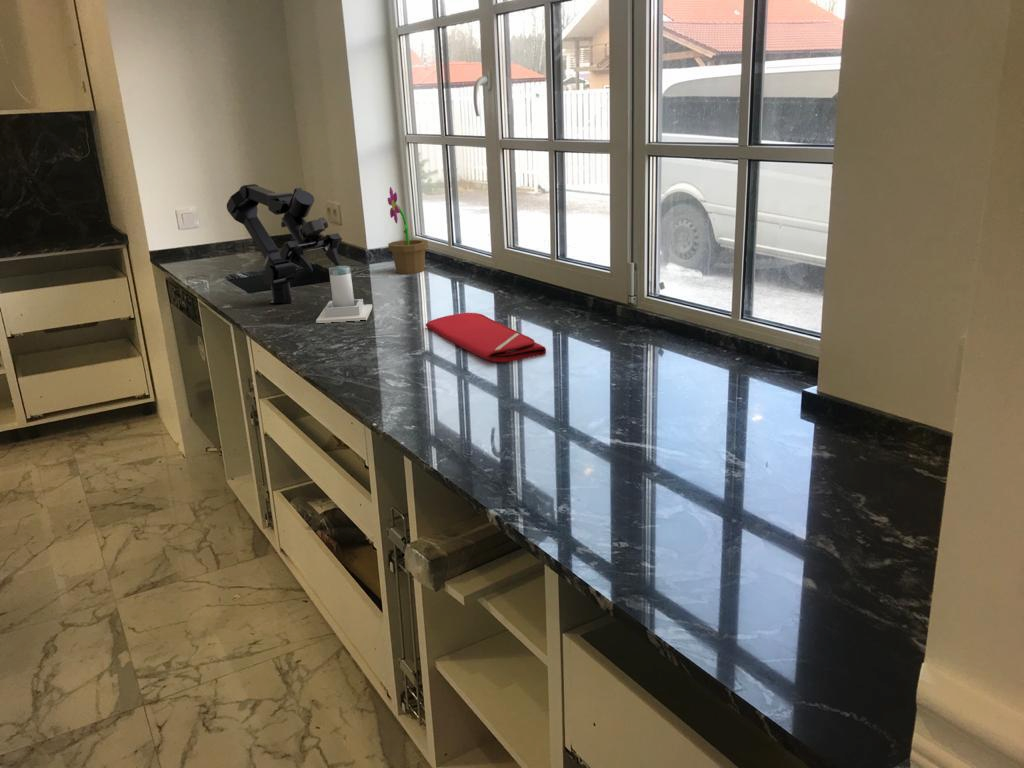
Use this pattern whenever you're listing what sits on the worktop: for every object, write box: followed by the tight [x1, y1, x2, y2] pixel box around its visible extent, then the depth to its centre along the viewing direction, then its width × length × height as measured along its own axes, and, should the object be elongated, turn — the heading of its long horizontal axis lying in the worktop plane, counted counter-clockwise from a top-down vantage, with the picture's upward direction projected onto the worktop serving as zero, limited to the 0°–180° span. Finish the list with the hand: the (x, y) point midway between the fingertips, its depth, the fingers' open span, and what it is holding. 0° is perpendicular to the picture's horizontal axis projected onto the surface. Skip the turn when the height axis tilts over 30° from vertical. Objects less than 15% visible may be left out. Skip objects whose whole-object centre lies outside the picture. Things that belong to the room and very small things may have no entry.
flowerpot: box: [387, 186, 429, 275], centre depth 300 cm, size 14×14×30 cm
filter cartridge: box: [328, 265, 355, 307], centre depth 244 cm, size 6×6×13 cm
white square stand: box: [315, 298, 373, 324], centre depth 245 cm, size 16×14×4 cm
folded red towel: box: [425, 312, 547, 364], centre depth 213 cm, size 16×41×4 cm, turn 25°
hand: (325, 268), depth 246 cm, fingers open, 9 cm apart
